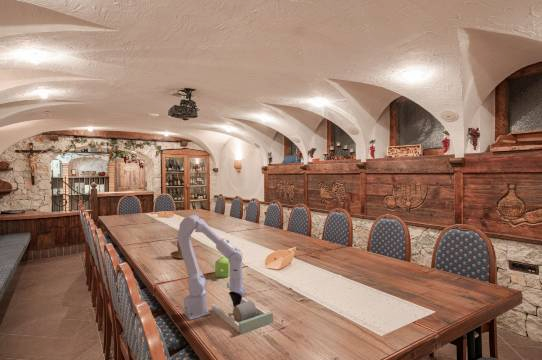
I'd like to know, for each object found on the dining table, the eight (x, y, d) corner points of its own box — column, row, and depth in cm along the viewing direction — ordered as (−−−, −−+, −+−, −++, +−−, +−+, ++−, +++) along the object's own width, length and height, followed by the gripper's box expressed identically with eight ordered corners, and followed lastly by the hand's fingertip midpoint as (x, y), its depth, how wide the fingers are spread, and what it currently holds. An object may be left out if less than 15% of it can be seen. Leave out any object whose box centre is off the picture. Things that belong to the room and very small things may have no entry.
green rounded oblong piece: (227, 281, 181) (228, 265, 180) (212, 279, 183) (212, 263, 183) (237, 271, 199) (238, 256, 198) (223, 269, 201) (223, 255, 200)
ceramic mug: (231, 320, 132) (231, 302, 132) (248, 314, 137) (248, 297, 137) (244, 330, 124) (243, 311, 123) (261, 324, 128) (261, 306, 128)
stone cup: (194, 257, 232) (193, 237, 232) (179, 260, 224) (178, 240, 224) (184, 253, 243) (183, 234, 243) (169, 256, 235) (169, 237, 235)
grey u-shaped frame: (241, 334, 121) (240, 323, 121) (211, 309, 143) (211, 301, 143) (273, 322, 130) (272, 312, 130) (240, 301, 152) (240, 293, 152)
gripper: (252, 280, 135) (252, 311, 136) (236, 271, 147) (236, 300, 147) (238, 283, 131) (238, 315, 131) (222, 274, 143) (223, 304, 143)
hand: (236, 307), depth 139 cm, fingers closed
